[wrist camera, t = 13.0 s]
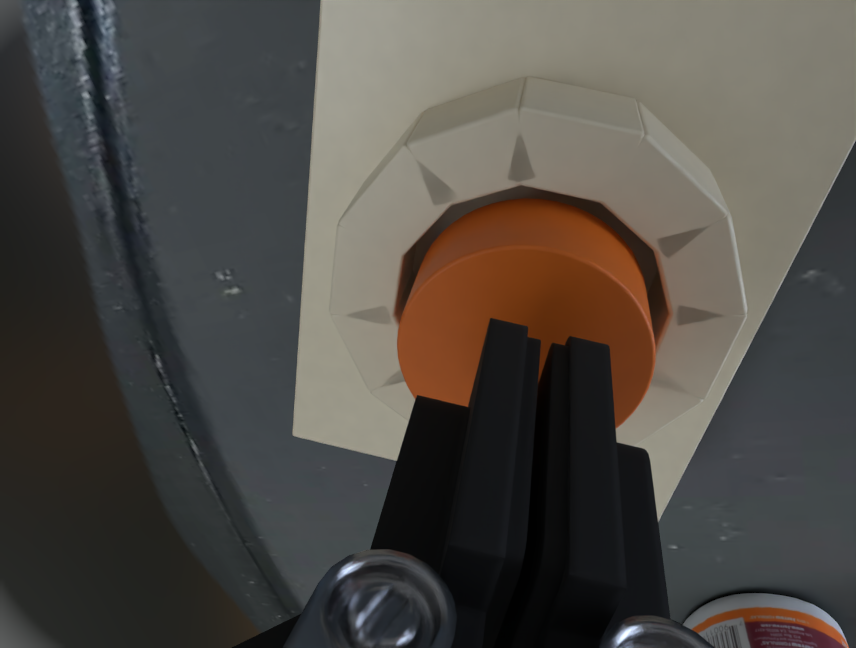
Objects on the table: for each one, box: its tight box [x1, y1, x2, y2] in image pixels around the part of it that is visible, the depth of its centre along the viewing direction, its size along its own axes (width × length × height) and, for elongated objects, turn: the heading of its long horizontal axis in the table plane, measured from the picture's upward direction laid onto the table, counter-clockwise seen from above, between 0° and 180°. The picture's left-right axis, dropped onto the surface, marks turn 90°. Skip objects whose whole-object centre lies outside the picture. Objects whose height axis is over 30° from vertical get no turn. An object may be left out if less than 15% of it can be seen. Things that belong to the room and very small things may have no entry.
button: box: [397, 198, 656, 428], centre depth 12 cm, size 4×4×2 cm
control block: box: [293, 0, 856, 521], centre depth 14 cm, size 12×9×4 cm
